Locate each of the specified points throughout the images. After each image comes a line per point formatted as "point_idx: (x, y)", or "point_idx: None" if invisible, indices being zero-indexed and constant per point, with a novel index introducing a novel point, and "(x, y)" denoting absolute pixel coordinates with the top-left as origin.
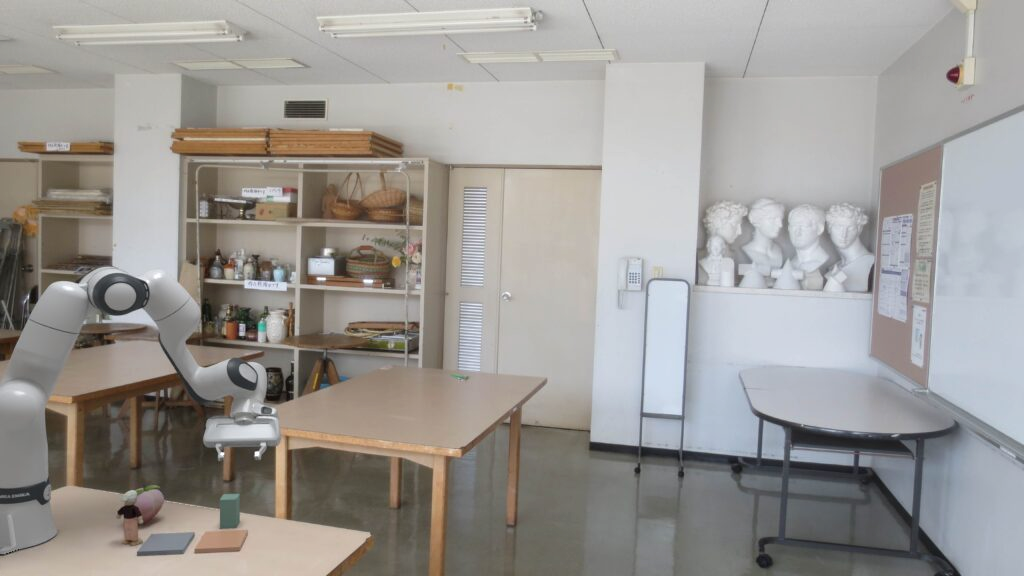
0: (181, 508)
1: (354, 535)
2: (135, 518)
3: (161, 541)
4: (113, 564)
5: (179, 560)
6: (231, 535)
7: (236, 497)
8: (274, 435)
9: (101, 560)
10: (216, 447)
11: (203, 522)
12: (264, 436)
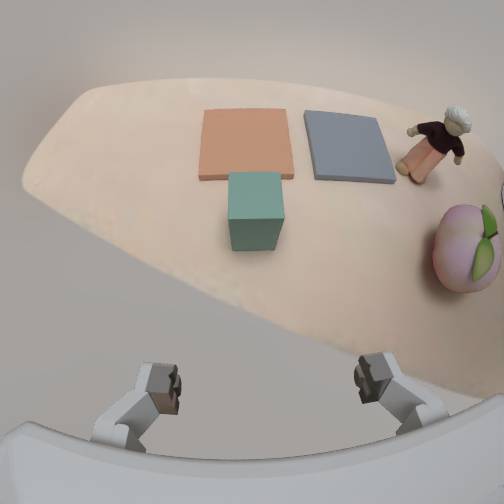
0: (405, 351)
1: (30, 176)
2: (425, 137)
3: (360, 143)
4: (387, 108)
5: (299, 98)
6: (229, 151)
7: (231, 186)
8: (21, 447)
9: (410, 123)
10: (432, 396)
11: (325, 254)
12: (82, 468)
